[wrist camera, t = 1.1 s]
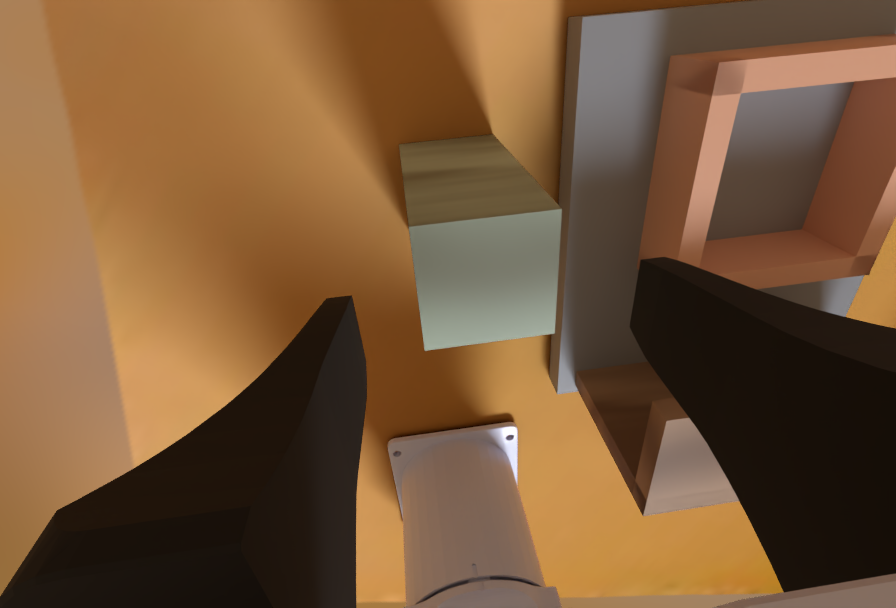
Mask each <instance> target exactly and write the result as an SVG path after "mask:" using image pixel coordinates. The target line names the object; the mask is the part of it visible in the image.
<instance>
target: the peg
mask: <svg viewBox="0 0 896 608" xmlns="http://www.w3.org/2000/svg"><path fill="white" fill-rule="evenodd" d="M399 150H400V158H401V167H402V175H403V184H404V192H405V200H406V209H407V217H408V225H409V233H410V241H411V249H412V256H413V264H414V272H415V280H416V287H417V295H418V303H419V311H420V318H421V326H422V334H423V341H424V349H425V351H427V350H435V349H442V348H450V347H457V346H465V345H472V344H480V343H487V342H495V341H502V340H510V339H517V338H525V337H532V336H540V335H547V334H555V320H556V303H557V286H558V269H559V252H560V235H561V218H562V208H561V207H560V206H559V205H558V204H557V203H556V202H555V201H554V200H553V199H552V198H551V197H550V195H549V194H548V193H547V192H546V191H545V190H544V189H543V188H542V187H541V186H540V185H539V184H538V182H537V181H536V180H535V179H534V178H533V177H532V176H531V175H530V174H529V173H528V172H527V170H526V169H525V168H524V167H523V166H522V165H521V164H520V163H519V162H518V161H517V160H516V159H515V157H514V156H513V155H512V154H511V153H510V152H509V151H508V150H507V149H506V148H505V147H504V146H503V144H502V143H501V142H500V141H499V140H498V139H497V138H496V137H495V136H494V135H493V134H490V135H481V136H472V137H462V138H453V139H443V140H434V141H424V142H415V143H406V144H399Z"/></svg>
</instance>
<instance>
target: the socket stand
mask: <svg viewBox="0 0 896 608" xmlns="http://www.w3.org/2000/svg"><path fill="white" fill-rule="evenodd" d="M558 205H559V206H560V207H561V208H562V218H561V235H560V252H559V269H558V286H557V303H556V320H555V334H551V353H550V371H549V377H550V379H551V382H552V384H553V386H554V388H555V390H556V393H557V394H563V393H570V392H577V391H578V389H577V387H576V386H575V383H576V372H577V371H583V370H590V369H597V368H604V367H612V366H619V365H626V364H634V363H641V362H648V361H647V359H646V358H645V356H644V354H643V352H642V350H641V349H640V347H639V345H638V343H637V341H636V339H635V337H634V335H633V333H632V331H631V329H630V327H629V326H630V320H631V314H632V308H633V302H634V296H635V290H636V284H637V278H638V272H639V266H640V260H642V259H650V258H658V257H667V258H671V259H675V260H678V261H681V262H684V263H687V264H690V265H693V266H695V267H698V268H701V269H704V270H706V271H709V272H711V273H714V274H717V275H719V276H722V277H724V278H727V279H730V280H732V281H735V282H738V283H740V284H743V285H746V286H748V287H751V288H754V289H756V290H759V291H762V292H765V293H768V294H771V295H774V296H777V297H780V298H783V299H786V300H789V301H792V302H795V303H798V304H801V305H804V306H807V307H811V308H814V309H817V310H821V311H825V312H828V313H832V314H836V315H840V316H843V317H845V316H846V314H847V312H848V310H849V307H850V305H851V303H852V301H853V299H854V297H855V294H856V292H857V290H858V288H859V286H860V283H861V281H862V279H863V277H864V275H869V273H870V271H871V268H872V266H873V264H874V262H875V260H876V258H877V255H878V253H879V251H880V249H881V247H882V245H883V242H884V240H885V238H886V236H887V234H888V232H889V230H890V227H891V225H892V223H893V221H894V219H895V217H896V0H749V1H738V2H727V3H716V4H705V5H695V6H684V7H673V8H662V9H651V10H640V11H629V12H618V13H607V14H597V15H586V16H575V17H568V34H567V53H566V72H565V90H564V109H563V128H562V147H561V165H560V184H559V203H558Z"/></svg>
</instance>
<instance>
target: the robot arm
mask: <svg viewBox="0 0 896 608" xmlns="http://www.w3.org/2000/svg"><path fill="white" fill-rule="evenodd" d="M629 327H630V329H631V331H632V333H633V335H634V337H635V339H636V341H637V343H638V345H639V347H640V349H641V350H642V352H643V354H644V356H645V358H646V359H647V361H648V362H649V364H650V365H651V366H652V368H653V369H654V371H655V372H656V373H657V375H658V376H659V378H660V379H661V380H662V382H663V383H664V384H665V386H666V387H667V388H668V390H669V391H670V393H671V394H672V395H673V397H674V398H675V399H676V401H677V402H678V403H679V405H680V406H681V407H682V409H683V410H684V411H685V413H686V414H687V415H688V417H689V418H690V420H691V421H692V422H693V424H694V425H695V426H696V428H697V429H698V431H699V432H700V434H701V435H702V437H703V438H704V440H705V441H706V443H707V444H708V446H709V448H710V450H711V451H712V453H713V455H714V456H715V458H716V460H717V462H718V463H719V465H720V467H721V468H722V470H723V472H724V474H725V475H726V477H727V479H728V481H729V483H730V484H731V486H732V488H733V490H734V492H735V494H736V496H737V497H738V499H739V501H740V503H741V505H742V507H743V509H744V510H745V512H746V514H747V516H748V518H749V520H750V522H751V524H752V526H753V528H754V530H755V532H756V534H757V536H758V538H759V540H760V542H761V544H762V546H763V548H764V550H765V552H766V554H767V557H768V559H769V561H770V563H771V565H772V567H773V569H774V571H775V574H776V576H777V578H778V580H779V583H780V585H781V587H782V589H783V591H784V593H778V594H772V595H766V596H761V597H755V598H749V599H743V600H738V601H734V602H731V603H728V604H724V605H721V606H717V607H714V608H896V329H895V328H890V327H885V326H880V325H876V324H871V323H867V322H863V321H859V320H855V319H851V318H847V317H843V316H840V315H836V314H832V313H828V312H825V311H821V310H817V309H814V308H811V307H807V306H804V305H801V304H798V303H795V302H792V301H789V300H786V299H783V298H780V297H777V296H774V295H771V294H768V293H765V292H762V291H759V290H756V289H754V288H751V287H748V286H746V285H743V284H740V283H738V282H735V281H732V280H730V279H727V278H724V277H722V276H719V275H717V274H714V273H711V272H709V271H706V270H704V269H701V268H698V267H695V266H693V265H690V264H687V263H684V262H681V261H678V260H675V259H671V258H667V257H658V258H650V259H642V260H640V266H639V272H638V278H637V284H636V290H635V296H634V302H633V308H632V314H631V320H630V326H629ZM366 399H367V375H366V358H365V354H364V349H363V345H362V340H361V336H360V331H359V326H358V322H357V317H356V313H355V308H354V304H353V299H352V296H344V297H335V298H327V299H326V300H325V301H324V302H323V303H322V305H321V306H320V307H319V308H318V309H317V311H316V312H315V313H314V314H313V316H312V317H311V318H310V320H309V321H308V322H307V323H306V325H305V326H304V327H303V328H302V330H301V331H300V332H299V333H298V334H297V336H296V337H295V338H294V339H293V340H292V342H291V343H290V344H289V345H288V346H287V348H286V349H285V350H284V351H283V352H282V353H281V354H280V355H279V356H278V357H277V358H276V359H275V360H274V361H273V362H272V363H271V365H270V366H269V367H268V368H267V369H266V370H265V371H264V372H263V373H262V374H261V375H260V376H259V377H258V378H257V379H256V380H255V381H253V382H252V383H251V384H250V385H249V386H248V387H247V388H246V389H245V390H243V391H242V392H241V393H240V394H239V395H238V396H237V397H235V398H234V399H233V400H232V401H231V402H229V403H228V404H227V405H226V406H225V407H223V408H222V409H221V410H219V411H218V412H217V413H215V414H214V415H213V416H211V417H210V418H209V419H207V420H206V421H205V422H203V423H202V424H201V425H199V426H198V427H197V428H195V429H194V430H193V431H191V432H190V433H188V434H187V435H186V436H184V437H183V438H181V439H180V440H178V441H177V442H175V443H174V444H172V445H171V446H169V447H168V448H166V449H165V450H163V451H161V452H160V453H158V454H157V455H155V456H153V457H152V458H150V459H149V460H147V461H145V462H144V463H142V464H141V465H139V466H137V467H136V468H134V469H132V470H131V471H129V472H127V473H125V474H124V475H122V476H120V477H118V478H117V479H115V480H113V481H111V482H109V483H107V484H105V485H104V486H102V487H100V488H98V489H97V490H94V491H93V492H91V493H89V494H87V495H85V496H84V497H82V498H80V499H78V500H76V501H74V502H72V503H70V504H69V505H67V506H65V507H63V508H61V509H59V510H57V511H56V513H55V514H54V516H53V517H52V519H51V520H50V522H49V523H48V525H47V526H46V528H45V529H44V531H43V532H42V534H41V535H40V537H39V538H38V540H37V541H36V543H35V544H34V546H33V548H32V549H31V550H30V552H29V554H28V555H27V556H26V558H25V560H24V561H23V563H22V564H21V566H20V567H19V569H18V570H17V572H16V573H15V575H14V576H13V578H12V579H11V581H10V582H9V584H8V586H7V587H6V589H5V590H4V592H3V593H2V595H1V596H0V608H356V492H357V478H358V469H359V460H360V452H361V443H362V435H363V426H364V417H365V408H366ZM508 435H509V436H508ZM395 451H398V452H395ZM388 452H389V457H390V462H391V466H392V471H393V476H394V480H395V485H396V490H397V495H398V499H399V504H400V509H401V513H402V518H403V534H404V561H405V588H406V607H404V608H562V606H561V603H560V599H559V596H558V593H557V589H556V587H546V586H545V582H544V578H543V575H542V571H541V568H540V564H539V561H538V557H537V554H536V550H535V547H534V543H533V540H532V536H531V533H530V529H529V525H528V522H527V518H526V515H525V511H524V508H523V504H522V501H521V497H520V494H519V490H518V487H517V469H518V429H517V426H516V424H515V423H513V422H505V423H498V424H491V425H484V426H477V427H470V428H463V429H456V430H449V431H442V432H435V433H428V434H421V435H414V436H407V437H400V438H394V439H391V440H390V441H389V442H388Z"/></svg>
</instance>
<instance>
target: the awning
mask: <svg viewBox="0 0 896 608" xmlns="http://www.w3.org/2000/svg"><path fill="white" fill-rule="evenodd" d="M575 386H576V387H577V389H578V391H579V393H580V395H581V397H582V399H583V401H584V403H585V405H586V407H587V409H588V411H589V413H590V414H591V416H592V418H593V420H594V422H595V424H596V426H597V428H598V430H599V432H600V434H601V436H602V438H603V440H604V442H605V443H606V445H607V447H608V449H609V451H610V453H611V455H612V457H613V459H614V461H615V463H616V465H617V467H618V469H619V470H620V472H621V474H622V476H623V478H624V480H625V482H626V484H627V486H628V488H629V490H630V492H631V494H632V496H633V498H634V499H635V501H636V503H637V505H638V507H639V509H640V511H641V513H642V515H643V516H647V515H653V514H660V513H666V512H673V511H679V510H685V509H692V508H698V507H704V506H711V505H717V504H723V503H730V502H736V501H739V499H738V497H737V496H736V494H735V492H734V490H733V488H732V486H731V484H730V483H729V481H728V479H727V477H726V475H725V474H724V472H723V470H722V468H721V467H720V465H719V463H718V462H717V460H716V458H715V456H714V455H713V453H712V451H711V450H710V448H709V446H708V444H707V443H706V441H705V440H704V438H703V437H702V435H701V434H700V432H699V431H698V429H697V428H696V426H695V425H694V424H693V422H692V421H691V420H690V418H689V417H688V415H687V414H686V413H685V411H684V410H683V409H682V407H681V406H680V405H679V403H678V402H677V401H676V399H675V398H674V397H673V395H672V394H671V393H670V391H669V390H668V388H667V387H666V386H665V384H664V383H663V382H662V380H661V379H660V378H659V376H658V375H657V373H656V372H655V371H654V369H653V368H652V366H651V365H650V364H649V362H641V363H634V364H626V365H619V366H612V367H604V368H597V369H590V370H583V371H577V372H576V383H575Z"/></svg>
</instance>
